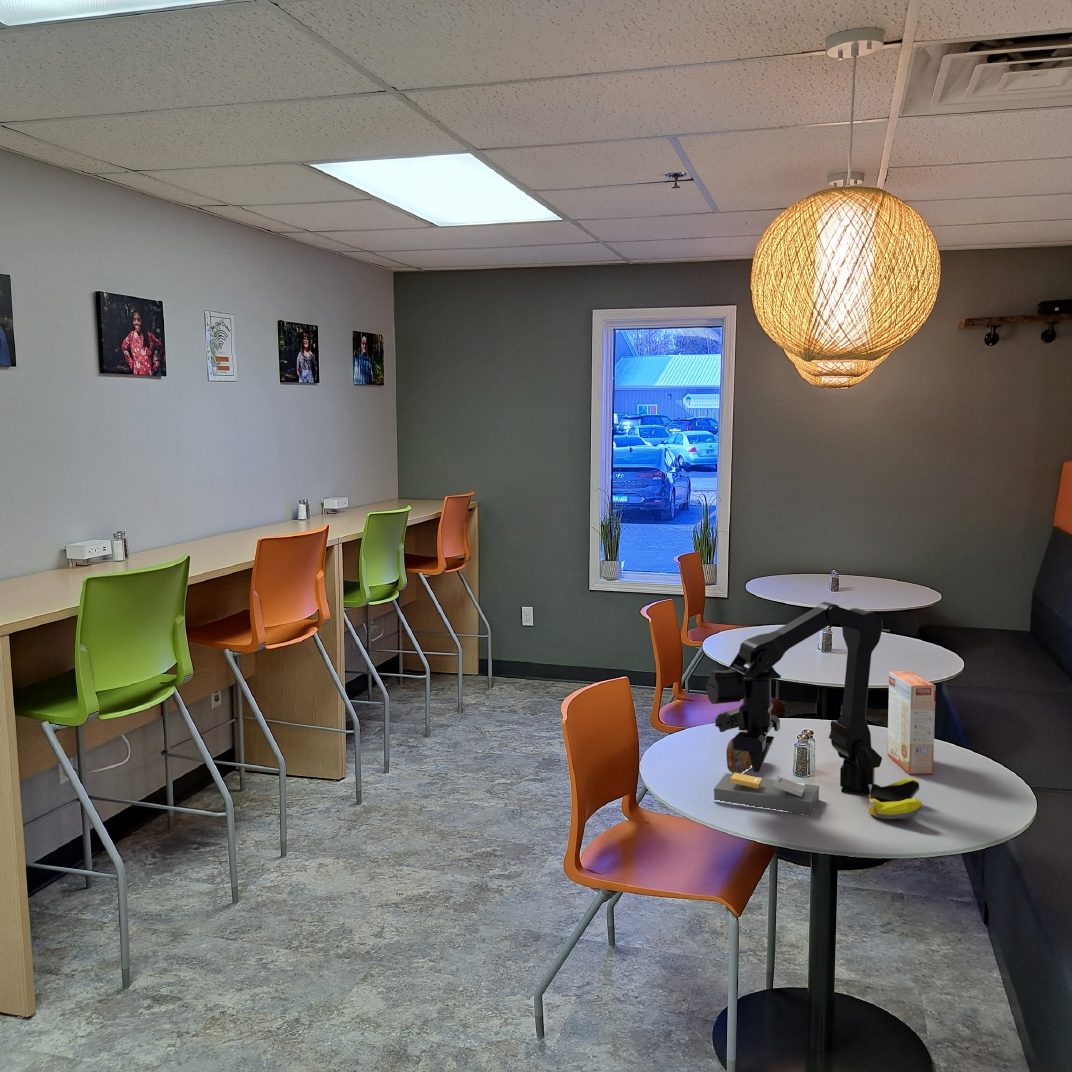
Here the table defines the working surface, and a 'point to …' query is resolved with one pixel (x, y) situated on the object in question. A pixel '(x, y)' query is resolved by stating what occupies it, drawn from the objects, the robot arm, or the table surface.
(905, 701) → the cracker box
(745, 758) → the tin
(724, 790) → the rocker switch panel
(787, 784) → the grey rocker
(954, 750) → the table surface
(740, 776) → the block
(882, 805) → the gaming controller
